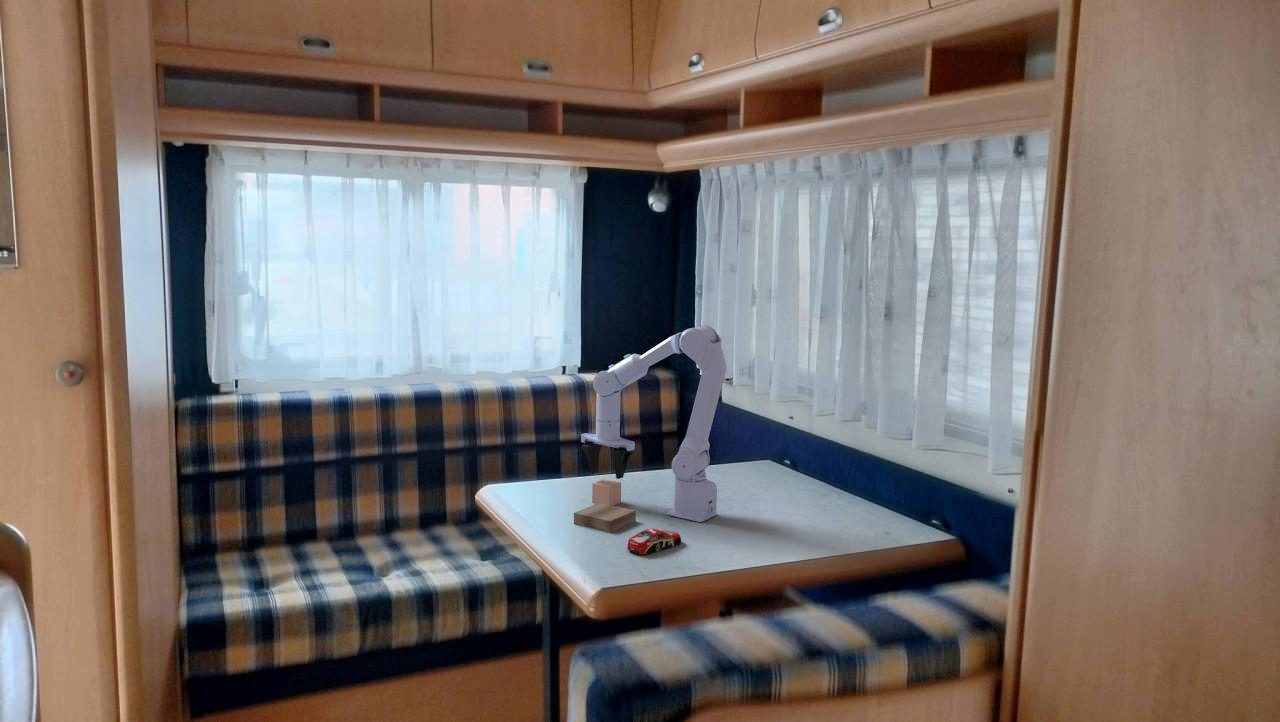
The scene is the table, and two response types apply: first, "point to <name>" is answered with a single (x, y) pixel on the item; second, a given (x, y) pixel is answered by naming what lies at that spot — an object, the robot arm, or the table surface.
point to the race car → (653, 541)
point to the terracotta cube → (606, 492)
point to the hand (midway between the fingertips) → (606, 475)
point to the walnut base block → (605, 517)
